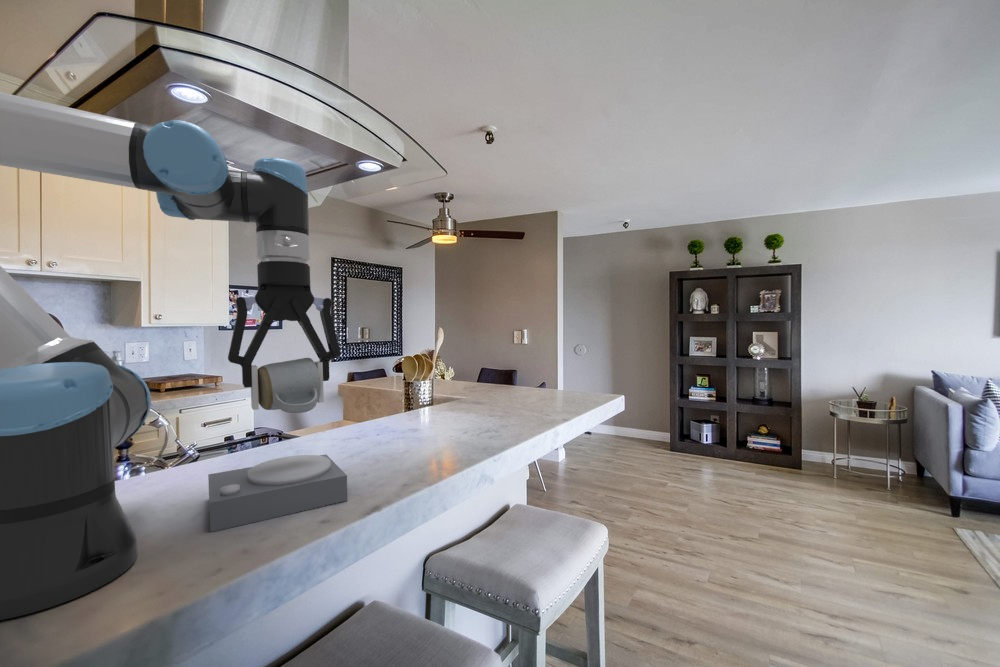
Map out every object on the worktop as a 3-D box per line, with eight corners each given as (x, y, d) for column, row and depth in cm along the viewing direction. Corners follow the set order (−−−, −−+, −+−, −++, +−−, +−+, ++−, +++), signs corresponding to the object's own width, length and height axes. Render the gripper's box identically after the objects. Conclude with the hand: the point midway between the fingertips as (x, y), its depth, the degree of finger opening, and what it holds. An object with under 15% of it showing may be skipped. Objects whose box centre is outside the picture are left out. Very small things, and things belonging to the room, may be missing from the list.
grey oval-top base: (210, 532, 61) (209, 495, 60) (209, 498, 73) (208, 467, 72) (347, 500, 71) (346, 469, 70) (326, 475, 82) (325, 448, 82)
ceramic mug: (253, 408, 72) (250, 360, 72) (305, 400, 78) (303, 356, 78) (275, 418, 65) (273, 365, 64) (331, 409, 70) (329, 360, 70)
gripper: (202, 254, 63) (208, 417, 63) (359, 263, 74) (362, 400, 75) (202, 261, 69) (208, 409, 69) (346, 268, 81) (350, 394, 81)
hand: (288, 404), depth 72 cm, fingers closed on ceramic mug, 9 cm apart
